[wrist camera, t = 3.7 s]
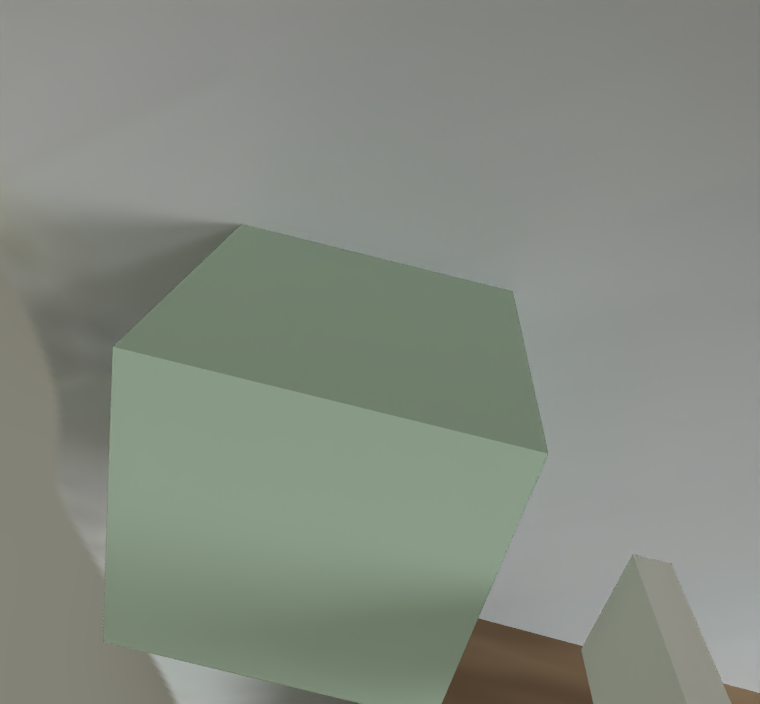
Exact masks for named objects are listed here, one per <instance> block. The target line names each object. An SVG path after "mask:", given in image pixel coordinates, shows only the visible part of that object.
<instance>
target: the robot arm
mask: <svg viewBox="0 0 760 704" xmlns="http://www.w3.org/2000/svg"><path fill="white" fill-rule="evenodd" d="M581 651H582V656H583V660H584V664H585V669H586V673H587V678H588V682H589V687H590V691H591V696H592V700H593V704H731V701H730V699H729V697H728V694H727V692H726V690H725V687H724V685H723V683H722V680H721V678H720V676H719V673H718V671H717V669H716V666H715V664H714V662H713V659H712V657H711V655H710V652H709V650H708V648H707V645H706V643H705V641H704V638H703V636H702V634H701V631H700V629H699V627H698V624H697V622H696V620H695V617H694V615H693V613H692V610H691V608H690V606H689V603H688V601H687V599H686V596H685V594H684V592H683V590H682V587H681V585H680V583H679V580H678V578H677V576H676V573H675V571H674V569H673V566H672V564H671V563H667V562H663V561H659V560H654V559H650V558H646V557H642V556H637V555H632V557H631V559H630V560H629V562H628V564H627V566H626V568H625V570H624V571H623V573H622V575H621V577H620V579H619V581H618V583H617V584H616V586H615V588H614V590H613V592H612V594H611V595H610V597H609V599H608V601H607V603H606V605H605V607H604V608H603V610H602V612H601V614H600V616H599V618H598V619H597V621H596V623H595V625H594V627H593V629H592V631H591V632H590V634H589V636H588V638H587V640H586V642H585V643H584V645H583V647H582V649H581Z"/></svg>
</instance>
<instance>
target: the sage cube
mask: <svg viewBox="0 0 760 704" xmlns="http://www.w3.org/2000/svg"><path fill="white" fill-rule="evenodd" d="M547 456H548V450H547V445H546V441H545V436H544V432H543V427H542V423H541V418H540V414H539V409H538V404H537V400H536V395H535V391H534V386H533V382H532V377H531V372H530V368H529V363H528V359H527V354H526V350H525V345H524V340H523V336H522V331H521V327H520V322H519V318H518V313H517V308H516V304H515V299H514V295H513V291H509V290H505V289H501V288H497V287H493V286H489V285H485V284H481V283H477V282H473V281H469V280H464V279H460V278H456V277H452V276H448V275H444V274H440V273H436V272H432V271H428V270H424V269H420V268H416V267H412V266H408V265H404V264H400V263H396V262H392V261H388V260H384V259H380V258H376V257H372V256H368V255H364V254H360V253H356V252H352V251H348V250H344V249H340V248H336V247H332V246H328V245H324V244H320V243H316V242H312V241H308V240H304V239H300V238H296V237H292V236H288V235H283V234H279V233H275V232H271V231H267V230H263V229H259V228H255V227H251V226H247V225H243V224H241V225H240V226H239V227H238V228H237V229H236V230H235V231H234V232H233V233H232V234H231V235H230V236H229V237H227V238H226V239H225V240H224V241H223V242H222V243H221V244H220V245H219V246H218V247H217V248H216V249H215V250H214V251H213V252H212V253H211V254H210V255H209V256H207V257H206V258H205V259H204V260H203V261H202V262H201V263H200V264H199V265H198V266H197V267H196V268H195V269H194V270H193V271H192V272H191V273H190V274H189V275H188V276H186V277H185V278H184V279H183V280H182V281H181V282H180V283H179V284H178V285H177V286H176V287H175V288H174V289H173V290H172V291H171V292H170V293H169V294H168V295H166V296H165V297H164V298H163V299H162V300H161V301H160V302H159V303H158V304H157V305H156V306H155V307H154V308H153V309H152V310H151V311H150V312H149V313H148V314H146V315H145V316H144V317H143V318H142V319H141V320H140V321H139V322H138V323H137V324H136V325H135V326H134V327H133V328H132V329H131V330H130V331H129V332H128V333H126V334H125V335H124V336H123V337H122V338H121V339H120V340H119V341H118V342H117V343H116V344H115V345H114V346H113V350H112V380H111V411H110V441H109V472H108V502H107V533H106V563H105V595H104V624H103V625H104V626H103V642H106V643H111V644H115V645H119V646H123V647H127V648H131V649H135V650H139V651H143V652H148V653H152V654H156V655H160V656H164V657H168V658H173V659H177V660H181V661H185V662H189V663H193V664H198V665H202V666H206V667H210V668H214V669H218V670H223V671H227V672H231V673H235V674H239V675H243V676H247V677H252V678H256V679H260V680H264V681H268V682H272V683H277V684H281V685H285V686H289V687H293V688H297V689H302V690H306V691H310V692H314V693H318V694H322V695H327V696H331V697H335V698H339V699H343V700H347V701H351V702H356V703H360V704H442V702H443V699H444V697H445V694H446V692H447V690H448V687H449V685H450V683H451V680H452V678H453V676H454V673H455V671H456V669H457V666H458V664H459V662H460V659H461V657H462V655H463V652H464V650H465V648H466V645H467V643H468V641H469V638H470V636H471V634H472V631H473V629H474V627H475V624H476V622H477V620H478V617H479V615H480V613H481V610H482V608H483V605H484V603H485V601H486V598H487V596H488V594H489V591H490V589H491V587H492V584H493V582H494V580H495V577H496V575H497V573H498V570H499V568H500V566H501V563H502V561H503V559H504V556H505V554H506V552H507V549H508V547H509V545H510V542H511V540H512V538H513V535H514V533H515V531H516V528H517V526H518V524H519V521H520V519H521V516H522V514H523V512H524V509H525V507H526V505H527V502H528V500H529V498H530V495H531V493H532V491H533V488H534V486H535V484H536V481H537V479H538V477H539V474H540V472H541V470H542V467H543V465H544V463H545V460H546V458H547Z"/></svg>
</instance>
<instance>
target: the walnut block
mask: <svg viewBox="0 0 760 704" xmlns="http://www.w3.org/2000/svg"><path fill="white" fill-rule="evenodd" d="M582 647H583V646H580V645H576V644H572V643H568V642H565V641H561V640H557V639H553V638H549V637H546V636H542V635H538V634H534V633H531V632H527V631H523V630H519V629H516V628H512V627H508V626H504V625H501V624H497V623H493V622H489V621H485V620H482V619H478V620H477V622H476V624H475V627H474V629H473V631H472V634H471V636H470V638H469V641H468V643H467V645H466V648H465V650H464V652H463V655H462V657H461V659H460V662H459V664H458V666H457V669H456V671H455V673H454V676H453V678H452V680H451V683H450V685H449V687H448V690H447V692H446V694H445V697H444V699H443V702H442V704H593V700H592V696H591V691H590V687H589V682H588V678H587V673H586V669H585V664H584V660H583V656H582V651H581V649H582ZM723 685H724V687H725V690H726V692H727V694H728V697H729V699H730V701H731V704H760V693H757V692H753V691H749V690H745V689H741V688H738V687H734V686H730V685H726V684H723Z"/></svg>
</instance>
